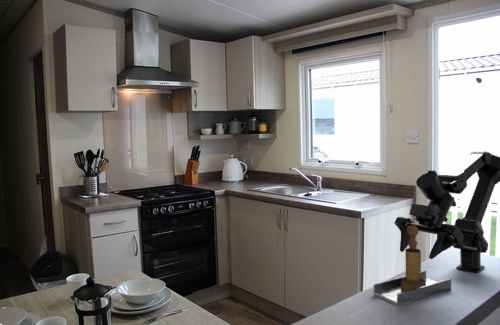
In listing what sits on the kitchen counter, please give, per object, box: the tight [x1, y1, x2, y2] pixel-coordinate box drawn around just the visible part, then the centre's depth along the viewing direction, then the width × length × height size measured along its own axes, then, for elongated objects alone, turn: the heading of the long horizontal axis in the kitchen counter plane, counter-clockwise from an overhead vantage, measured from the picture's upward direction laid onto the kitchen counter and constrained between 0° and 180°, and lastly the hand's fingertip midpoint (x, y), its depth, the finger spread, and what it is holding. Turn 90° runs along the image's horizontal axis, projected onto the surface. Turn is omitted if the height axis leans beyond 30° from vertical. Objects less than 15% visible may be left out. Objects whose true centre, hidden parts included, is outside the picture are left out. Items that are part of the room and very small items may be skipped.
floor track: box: [373, 270, 452, 307], centre depth 119 cm, size 20×9×3 cm, turn 117°
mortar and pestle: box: [401, 225, 426, 292], centre depth 118 cm, size 7×6×18 cm
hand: (415, 254), depth 119 cm, fingers open, 9 cm apart
